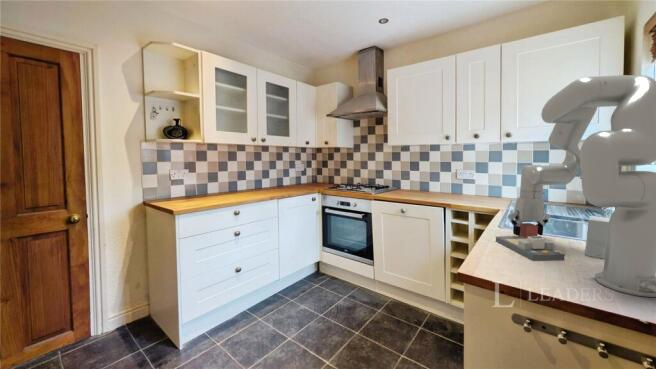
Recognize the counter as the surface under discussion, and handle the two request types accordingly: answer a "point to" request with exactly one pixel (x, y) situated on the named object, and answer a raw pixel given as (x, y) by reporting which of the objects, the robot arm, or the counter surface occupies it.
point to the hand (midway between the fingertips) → (527, 234)
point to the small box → (597, 236)
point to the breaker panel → (527, 252)
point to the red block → (528, 230)
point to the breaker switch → (536, 242)
